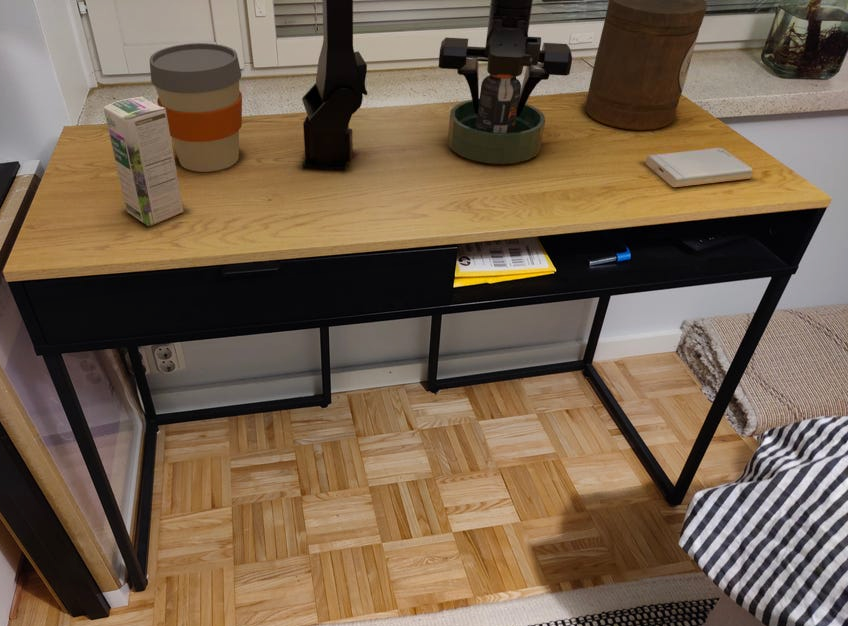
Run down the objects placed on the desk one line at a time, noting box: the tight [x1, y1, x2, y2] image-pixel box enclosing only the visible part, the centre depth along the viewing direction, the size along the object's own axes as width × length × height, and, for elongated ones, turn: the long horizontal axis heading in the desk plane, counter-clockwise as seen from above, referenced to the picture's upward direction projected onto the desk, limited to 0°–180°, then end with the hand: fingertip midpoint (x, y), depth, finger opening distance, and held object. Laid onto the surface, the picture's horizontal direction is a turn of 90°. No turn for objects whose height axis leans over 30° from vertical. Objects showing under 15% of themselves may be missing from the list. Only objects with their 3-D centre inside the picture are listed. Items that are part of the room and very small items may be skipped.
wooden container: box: [584, 0, 708, 131], centre depth 115 cm, size 15×15×22 cm
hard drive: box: [644, 147, 754, 188], centre depth 105 cm, size 2×8×12 cm
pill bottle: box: [476, 74, 522, 133], centre depth 107 cm, size 6×6×11 cm
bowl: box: [447, 97, 546, 165], centre depth 110 cm, size 14×14×5 cm
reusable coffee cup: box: [149, 42, 243, 173], centre depth 103 cm, size 13×13×15 cm
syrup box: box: [102, 96, 184, 227], centre depth 91 cm, size 6×6×14 cm
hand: (496, 114), depth 108 cm, fingers closed on pill bottle, 6 cm apart
